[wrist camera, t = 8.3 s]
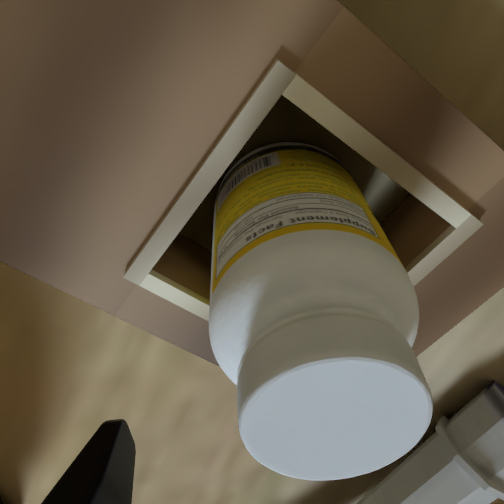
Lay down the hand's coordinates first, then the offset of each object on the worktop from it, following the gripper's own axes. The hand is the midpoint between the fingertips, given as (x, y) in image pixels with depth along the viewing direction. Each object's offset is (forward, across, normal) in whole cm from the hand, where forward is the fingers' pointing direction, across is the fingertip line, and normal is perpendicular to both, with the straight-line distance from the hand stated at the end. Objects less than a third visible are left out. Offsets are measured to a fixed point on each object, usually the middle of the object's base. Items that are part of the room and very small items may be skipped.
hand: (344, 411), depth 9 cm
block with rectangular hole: (+10, +2, -2) cm, 10 cm away
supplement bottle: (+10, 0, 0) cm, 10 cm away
